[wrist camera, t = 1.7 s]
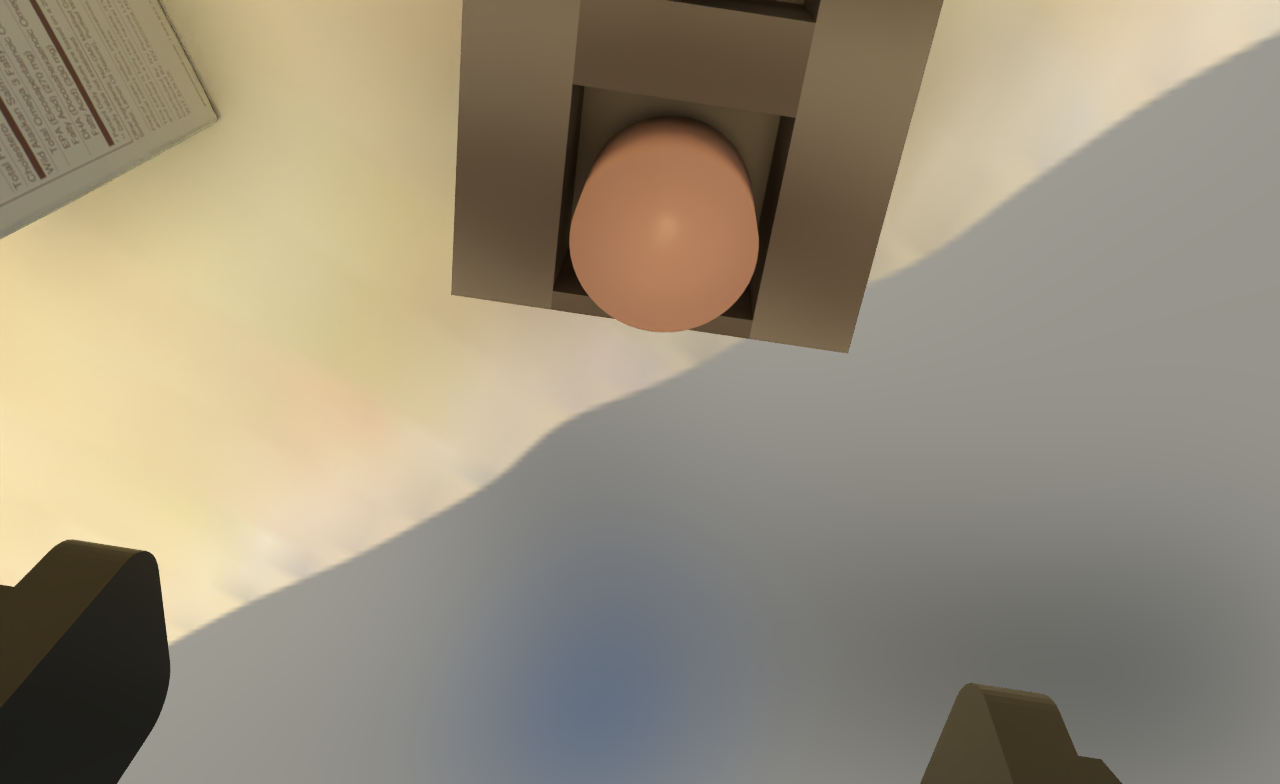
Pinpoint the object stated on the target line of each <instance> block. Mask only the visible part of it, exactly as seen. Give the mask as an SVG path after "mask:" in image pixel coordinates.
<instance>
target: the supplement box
mask: <svg viewBox="0 0 1280 784" xmlns="http://www.w3.org/2000/svg"><path fill="white" fill-rule="evenodd" d="M215 122H217V117H216V115H215V113H214V111H213V109H212V107H211V104H210V102H209V100H208V98H207V96H206V94H205V92H204V90H203V88H202V86H201V84H200V82H199V80H198V78H197V76H196V74H195V72H194V70H193V68H192V66H191V64H190V62H189V60H188V59H187V57H186V55H185V53H184V51H183V49H182V46H181V44H180V42H179V40H178V39H177V37H176V35H175V33H174V31H173V29H172V27H171V25H170V23H169V21H168V19H167V17H166V15H165V14H164V12H163V10H162V8H161V6H160V3H159V1H158V0H0V239H2V238H4V237H5V236H7V235H9V234H11V233H13V232H15V231H17V230H19V229H21V228H23V227H25V226H27V225H29V224H30V223H32V222H34V221H36V220H38V219H40V218H42V217H44V216H46V215H48V214H50V213H52V212H54V211H55V210H57V209H59V208H61V207H63V206H65V205H67V204H69V203H71V202H73V201H74V200H76V199H78V198H80V197H82V196H84V195H85V194H87V193H89V192H91V191H93V190H95V189H96V188H98V187H100V186H102V185H104V184H106V183H107V182H109V181H111V180H113V179H115V178H116V177H118V176H120V175H122V174H124V173H126V172H127V171H129V170H131V169H133V168H135V167H136V166H138V165H140V164H142V163H144V162H146V161H147V160H149V159H151V158H153V157H155V156H157V155H158V154H160V153H162V152H163V151H165V150H167V149H169V148H171V147H172V146H174V145H176V144H178V143H180V142H182V141H183V140H185V139H187V138H189V137H190V136H192V135H194V134H196V133H197V132H199V131H201V130H203V129H205V128H207V127H209V126H211V125H213V124H214V123H215Z"/></svg>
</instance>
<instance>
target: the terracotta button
mask: <svg viewBox="0 0 1280 784" xmlns="http://www.w3.org/2000/svg"><path fill="white" fill-rule="evenodd" d="M569 245H570V255H571V260H572V264H573V268H574V270H575V273H576V275H577V278H578V280H579V282H580V283H581V285H582V287H583V289H584V290H585V291H586V293H587V294H588V296H589V297H590V298H591V299H592V300H593V301H594V302H595V303H596V304H597V306H598V307H600V308H601V309H602V310H603V311H605V312H606V313H607V314H609V315H610V316H612V317H613V318H615V319H616V320H618V321H620V322H622V323H625V324H627V325H629V326H632V327H635V328H638V329H642V330H647V331H654V332H676V331H683V330H688V329H691V328H695V327H698V326H701V325H703V324H705V323H708V322H710V321H711V320H713V319H715V318H717V317H718V316H720V315H721V314H722V313H724V312H725V311H726V310H728V309H729V308H730V307H731V306H732V305H733V304H734V303H735V302H736V301H737V300H738V298H739V297H740V296H741V295H742V293H743V292H744V290H745V289H746V287H747V285H748V284H749V282H750V280H751V277H752V275H753V273H754V270H755V266H756V262H757V257H758V250H759V236H758V229H757V222H756V215H755V207H754V200H753V193H752V186H751V180H750V176H749V173H748V169H747V167H746V165H745V163H744V160H743V159H742V157H741V155H740V154H739V152H738V150H737V149H736V148H735V147H734V146H733V144H732V143H731V142H730V141H729V140H728V139H727V138H726V137H725V136H724V135H723V134H721V133H720V132H718V131H717V130H716V129H714V128H712V127H711V126H709V125H707V124H705V123H703V122H700V121H697V120H695V119H691V118H687V117H682V116H671V115H669V116H656V117H651V118H647V119H643V120H640V121H637V122H635V123H633V124H631V125H629V126H627V127H625V128H624V129H622V130H621V131H619V132H618V133H617V134H616V135H614V136H613V137H612V138H611V139H610V140H609V141H608V142H607V143H606V144H605V146H604V147H603V148H602V149H601V151H600V152H599V154H598V155H597V157H596V159H595V161H594V163H593V165H592V167H591V170H590V173H589V175H588V178H587V180H586V183H585V186H584V188H583V191H582V194H581V196H580V199H579V202H578V204H577V207H576V210H575V213H574V216H573V219H572V223H571V229H570V242H569Z"/></svg>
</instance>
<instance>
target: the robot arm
mask: <svg viewBox="0 0 1280 784" xmlns="http://www.w3.org/2000/svg"><path fill="white" fill-rule="evenodd" d="M169 679H170V659H169V650H168V642H167V634H166V626H165V617H164V609H163V601H162V593H161V585H160V577H159V569H158V564H157V561H156V559H155V557H154V556H153V555H152V554H151V553H150V552H147V551H142V550H136V549H130V548H123V547H117V546H111V545H104V544H98V543H91V542H85V541H79V540H66V541H63V542H61V543H59V544H58V545H56V546H55V547H54V548H53V549H51V550H50V551H49V552H48V553H47V554H46V555H45V556H44V557H43V558H42V559H41V560H40V561H39V562H38V563H37V564H36V565H35V567H34V568H33V569H32V570H31V571H30V572H29V573H28V574H27V575H26V576H25V577H24V578H23V579H22V580H21V581H20V582H19V583H18V584H17V585H16V586H15V587H11V586H5V585H0V784H117V783H118V781H119V780H120V778H121V776H122V775H123V773H124V772H125V770H126V769H127V767H128V766H129V764H130V763H131V761H132V760H133V758H134V757H135V755H136V754H137V752H138V751H139V749H140V748H141V746H142V745H143V743H144V742H145V740H146V738H147V737H148V735H149V734H150V732H151V731H152V729H153V727H154V725H155V723H156V721H157V719H158V717H159V715H160V712H161V710H162V707H163V704H164V701H165V698H166V695H167V690H168V686H169ZM921 784H1122V783H1121V782H1120V781H1119V780H1118V779H1117V777H1116V776H1115V775H1114V774H1113V773H1112V772H1111V770H1110V769H1109V768H1108V767H1107V766H1106V765H1105V763H1103V761H1102V760H1101V759H1095V758H1089V757H1082V756H1078V755H1077V752H1076V750H1075V748H1074V745H1073V743H1072V740H1071V738H1070V736H1069V733H1068V731H1067V729H1066V726H1065V724H1064V722H1063V719H1062V717H1061V714H1060V712H1059V710H1058V708H1057V706H1056V704H1055V703H1054V702H1053V700H1052V699H1051V698H1050V697H1048V696H1046V695H1044V694H1038V693H1032V692H1025V691H1019V690H1013V689H1006V688H1000V687H994V686H987V685H980V684H974V683H969V684H966V685H965V686H964V687H963V688H962V689H961V690H960V692H959V694H958V696H957V698H956V700H955V702H954V705H953V707H952V710H951V712H950V714H949V717H948V719H947V722H946V724H945V726H944V729H943V731H942V733H941V736H940V738H939V741H938V743H937V745H936V747H935V750H934V752H933V755H932V757H931V759H930V762H929V764H928V766H927V769H926V771H925V774H924V776H923V778H922V781H921Z"/></svg>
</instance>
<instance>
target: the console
mask: <svg viewBox="0 0 1280 784" xmlns="http://www.w3.org/2000/svg"><path fill="white" fill-rule="evenodd" d="M942 4H943V0H463V14H462V39H461V64H460V90H459V115H458V140H457V166H456V191H455V216H454V242H453V267H452V292H451V295H457V296H464V297H470V298H477V299H484V300H491V301H498V302H504V303H511V304H518V305H525V306H531V307H538V308H545V309H552V310H558V311H565V312H572V313H579V314H585V315H592V316H599V317H606V318H613V317H612V316H610V315H609V314H607V313H606V312H605V311H603V310H602V309H601V308H600V307H598V306H597V304H596V303H595V302H594V301H593V300H592V299H591V298H590V297H589V296H588V294H587V293H586V291H585V290H584V289H583V287H582V285H581V283H580V282H579V280H578V278H577V275H576V273H575V270H574V268H573V264H572V260H571V255H570V245H569V242H570V229H571V223H572V219H573V216H574V213H575V210H576V207H577V204H578V202H579V199H580V196H581V194H582V191H583V188H584V186H585V183H586V180H587V178H588V175H589V173H590V170H591V167H592V165H593V163H594V161H595V159H596V157H597V155H598V154H599V152H600V151H601V149H602V148H603V147H604V146H605V144H606V143H607V142H608V141H609V140H610V139H611V138H612V137H613V136H614V135H616V134H617V133H618V132H619V131H621V130H622V129H624V128H625V127H627V126H629V125H631V124H633V123H635V122H637V121H640V120H643V119H647V118H651V117H656V116H669V115H671V116H682V117H687V118H691V119H695V120H697V121H700V122H703V123H705V124H707V125H709V126H711V127H712V128H714V129H716V130H717V131H718V132H720V133H721V134H723V135H724V136H725V137H726V138H727V139H728V140H729V141H730V142H731V143H732V144H733V146H734V147H735V148H736V149H737V150H738V152H739V154H740V155H741V157H742V159H743V160H744V163H745V165H746V167H747V169H748V173H749V176H750V180H751V186H752V193H753V200H754V207H755V215H756V222H757V229H758V236H759V250H758V257H757V262H756V266H755V270H754V273H753V275H752V277H751V280H750V282H749V284H748V285H747V287H746V289H745V290H744V292H743V293H742V295H741V296H740V297H739V298H738V300H737V301H736V302H735V303H734V304H733V305H732V306H731V307H730V308H729V309H728V310H726V311H725V312H724V313H722V314H721V315H720V316H718V317H717V318H715V319H713V320H711V321H710V322H708V323H705V324H703V325H701V326H698V327H695V328H691V329H688V330H694V331H700V332H707V333H714V334H721V335H728V336H734V337H741V338H748V339H755V340H761V341H768V342H775V343H782V344H788V345H795V346H802V347H810V348H816V349H823V350H829V351H836V352H843V353H848V351H849V347H850V344H851V340H852V336H853V333H854V329H855V325H856V321H857V317H858V314H859V310H860V306H861V303H862V299H863V295H864V292H865V288H866V284H867V281H868V277H869V273H870V270H871V266H872V262H873V259H874V255H875V251H876V248H877V244H878V240H879V236H880V233H881V229H882V225H883V222H884V218H885V214H886V211H887V207H888V203H889V199H890V196H891V192H892V188H893V185H894V181H895V177H896V174H897V170H898V166H899V163H900V159H901V155H902V151H903V148H904V144H905V140H906V137H907V133H908V129H909V126H910V122H911V118H912V114H913V111H914V107H915V103H916V100H917V96H918V92H919V89H920V85H921V81H922V78H923V74H924V70H925V66H926V63H927V59H928V55H929V52H930V48H931V44H932V41H933V37H934V33H935V29H936V26H937V22H938V18H939V15H940V11H941V7H942ZM613 319H615V318H613Z"/></svg>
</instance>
